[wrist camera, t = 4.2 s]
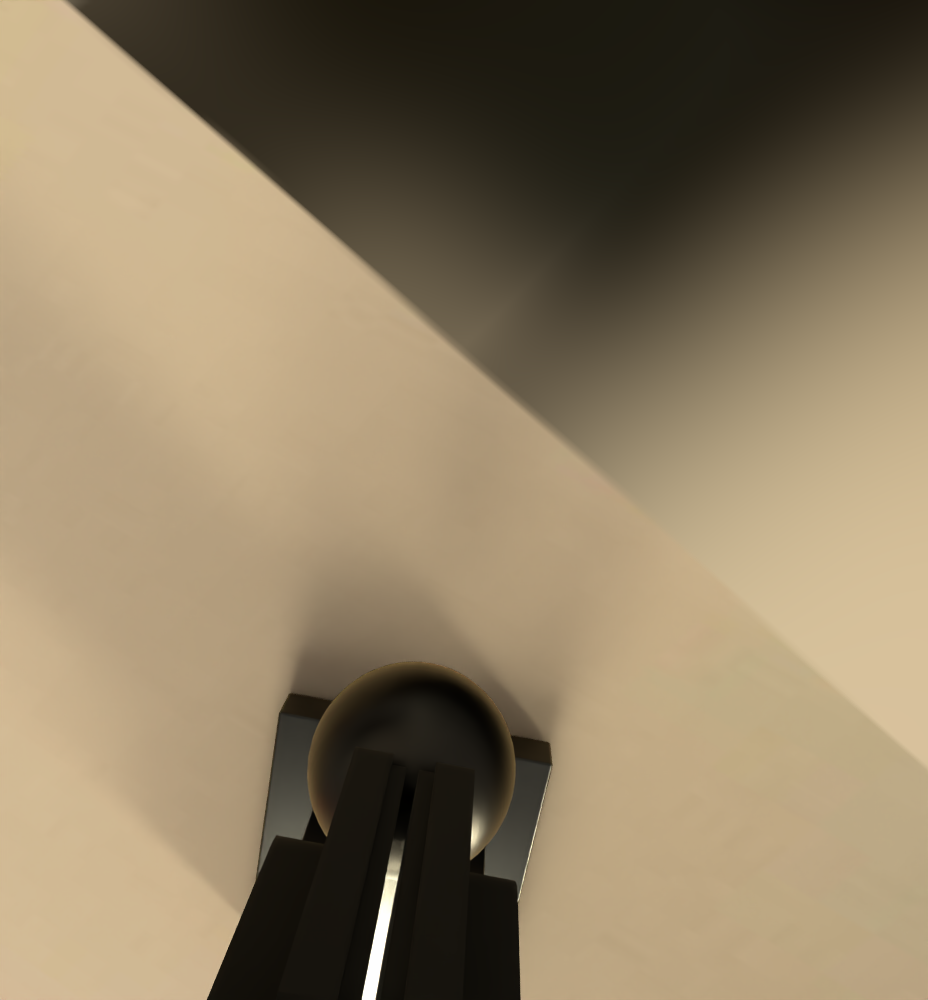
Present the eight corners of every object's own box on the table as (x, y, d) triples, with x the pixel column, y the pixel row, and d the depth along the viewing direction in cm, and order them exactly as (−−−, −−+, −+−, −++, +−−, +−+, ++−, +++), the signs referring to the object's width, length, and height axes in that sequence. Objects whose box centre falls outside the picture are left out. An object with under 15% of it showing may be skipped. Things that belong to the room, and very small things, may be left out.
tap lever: (344, 609, 13) (295, 722, 10) (532, 645, 13) (537, 768, 10) (267, 1129, 18) (216, 1315, 15) (409, 1156, 18) (389, 1347, 15)
